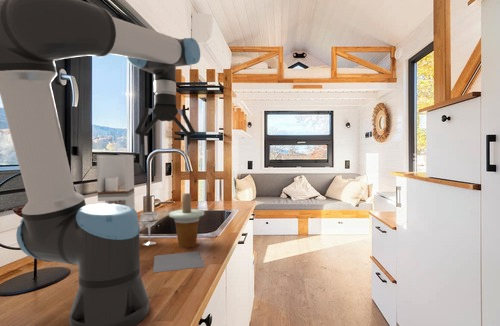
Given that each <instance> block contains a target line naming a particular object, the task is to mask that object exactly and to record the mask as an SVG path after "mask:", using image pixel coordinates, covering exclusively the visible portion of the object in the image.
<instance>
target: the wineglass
mask: <svg viewBox="0 0 500 326" xmlns="http://www.w3.org/2000/svg"><path fill="white" fill-rule="evenodd" d="M158 213H159V212H157V211H145V212H140V213H139V215H140V216H139V222H140V224H141V225H142V226H144V227H146V228H147V229H148V231H147V232H148V234H147V235H148V241H147V242H144V243H142V245H143V246H151V245H156V244H157V242H155V241H151V228H152V226H155V225H156V224H157V222H158V219H159V216H158Z"/></svg>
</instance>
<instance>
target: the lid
mask: <svg viewBox="0 0 500 326" xmlns="http://www.w3.org/2000/svg"><path fill="white" fill-rule="evenodd" d="M181 194H182V195H181V198H182V199H181V200H182V201H181V203H182V204H181V205H182V206H181V207H182V209H177V210H176V209H175V210H172V211H170V212H169V213H168V217H169V218H171V219H174V218H177V219H187V218H196V217H200V218H201V217H203V216H205V210H203V209H198V208H197V209H196V208H192V193H191V192H190V193H189V192H188V193H181Z"/></svg>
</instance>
